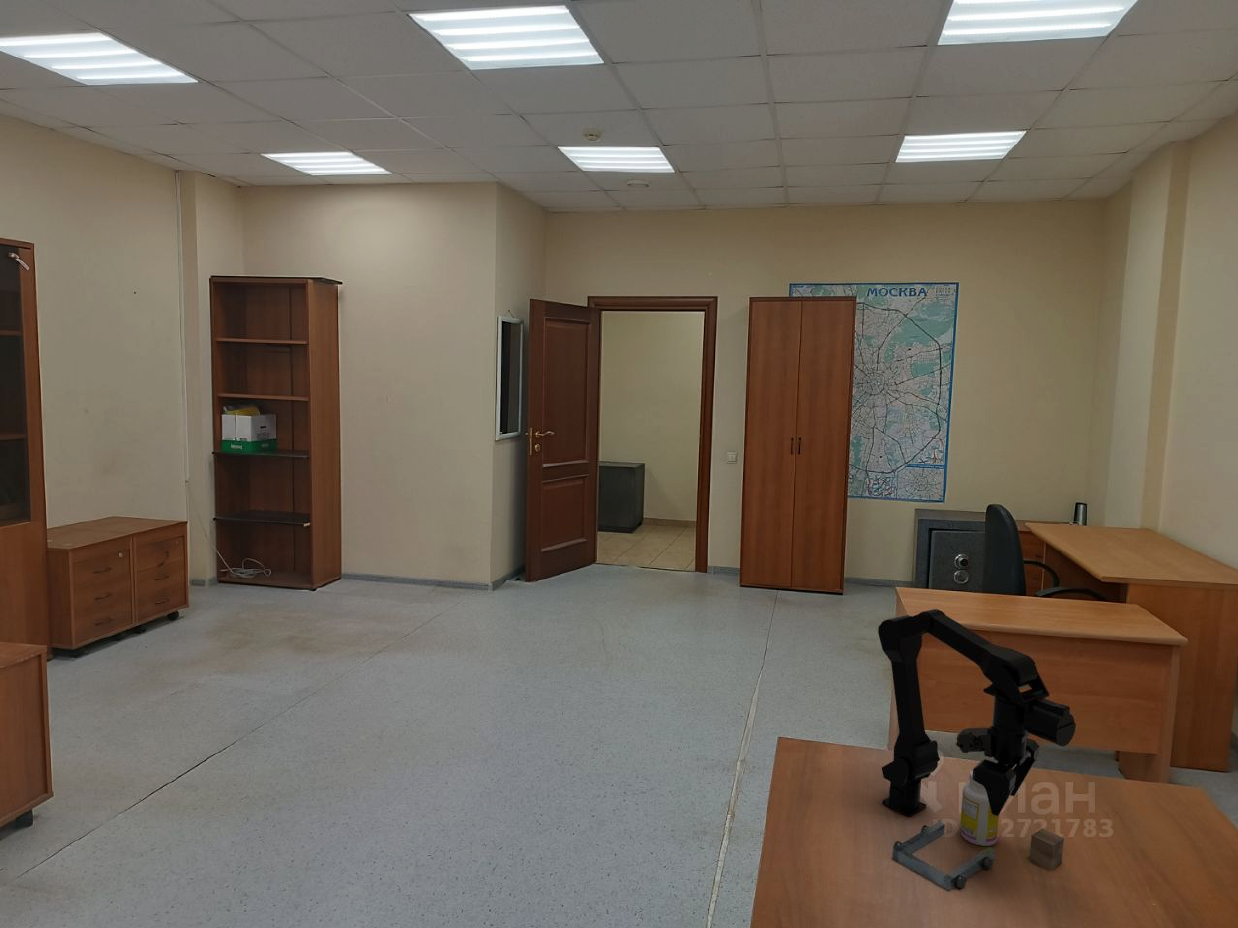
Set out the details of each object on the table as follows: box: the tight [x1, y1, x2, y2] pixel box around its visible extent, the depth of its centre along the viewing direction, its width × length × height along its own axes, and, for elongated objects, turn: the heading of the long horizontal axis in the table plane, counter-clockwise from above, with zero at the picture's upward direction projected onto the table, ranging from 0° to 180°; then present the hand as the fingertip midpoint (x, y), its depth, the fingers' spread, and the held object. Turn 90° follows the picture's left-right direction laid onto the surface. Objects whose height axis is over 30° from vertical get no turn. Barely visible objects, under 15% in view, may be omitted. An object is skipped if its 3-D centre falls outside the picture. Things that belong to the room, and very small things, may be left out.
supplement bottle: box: [959, 769, 1000, 847], centre depth 160 cm, size 7×7×13 cm
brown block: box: [1028, 827, 1065, 872], centre depth 153 cm, size 4×4×5 cm
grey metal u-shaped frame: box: [891, 821, 996, 892], centre depth 154 cm, size 15×13×2 cm
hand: (1003, 804), depth 152 cm, fingers open, 9 cm apart
